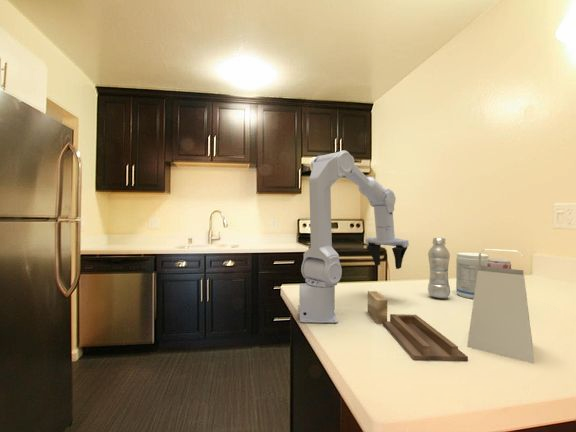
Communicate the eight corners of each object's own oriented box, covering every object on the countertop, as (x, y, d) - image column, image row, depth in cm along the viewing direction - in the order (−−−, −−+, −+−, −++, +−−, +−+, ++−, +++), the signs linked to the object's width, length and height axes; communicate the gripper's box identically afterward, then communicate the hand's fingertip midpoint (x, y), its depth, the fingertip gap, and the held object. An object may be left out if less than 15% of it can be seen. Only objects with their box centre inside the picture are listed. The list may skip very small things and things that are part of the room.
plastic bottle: (453, 301, 94) (453, 239, 94) (430, 299, 95) (431, 238, 95) (446, 296, 100) (446, 238, 100) (425, 294, 101) (425, 237, 101)
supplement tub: (462, 291, 107) (462, 251, 107) (492, 297, 100) (493, 254, 100) (451, 295, 101) (451, 253, 101) (483, 301, 94) (483, 256, 94)
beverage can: (500, 315, 80) (500, 261, 80) (481, 309, 85) (482, 258, 85) (516, 314, 81) (516, 260, 81) (496, 308, 87) (496, 258, 87)
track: (413, 360, 54) (413, 345, 54) (382, 324, 72) (382, 314, 72) (467, 361, 54) (467, 346, 54) (423, 325, 72) (423, 314, 72)
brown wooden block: (376, 324, 72) (377, 300, 72) (367, 312, 81) (367, 291, 81) (387, 324, 72) (387, 300, 72) (376, 312, 81) (376, 291, 81)
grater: (474, 332, 68) (474, 246, 68) (532, 344, 61) (533, 250, 61) (467, 346, 60) (467, 249, 60) (533, 363, 53) (534, 254, 53)
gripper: (412, 224, 92) (415, 266, 93) (372, 223, 103) (375, 261, 104) (400, 228, 87) (404, 272, 88) (360, 227, 98) (363, 266, 99)
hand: (387, 266), depth 96 cm, fingers open, 7 cm apart
